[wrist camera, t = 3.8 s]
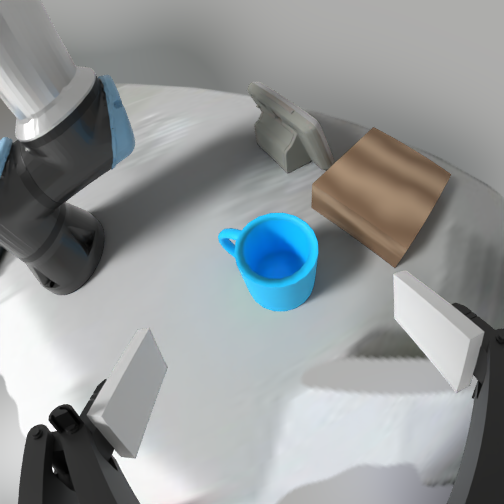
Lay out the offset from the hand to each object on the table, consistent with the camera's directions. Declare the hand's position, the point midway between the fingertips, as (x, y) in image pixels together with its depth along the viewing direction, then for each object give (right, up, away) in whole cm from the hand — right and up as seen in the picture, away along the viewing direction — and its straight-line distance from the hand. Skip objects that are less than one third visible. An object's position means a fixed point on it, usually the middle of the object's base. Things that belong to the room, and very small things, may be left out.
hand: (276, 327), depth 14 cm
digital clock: (+6, +21, +31) cm, 38 cm away
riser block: (+17, +11, +24) cm, 31 cm away
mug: (+1, +1, +22) cm, 22 cm away
